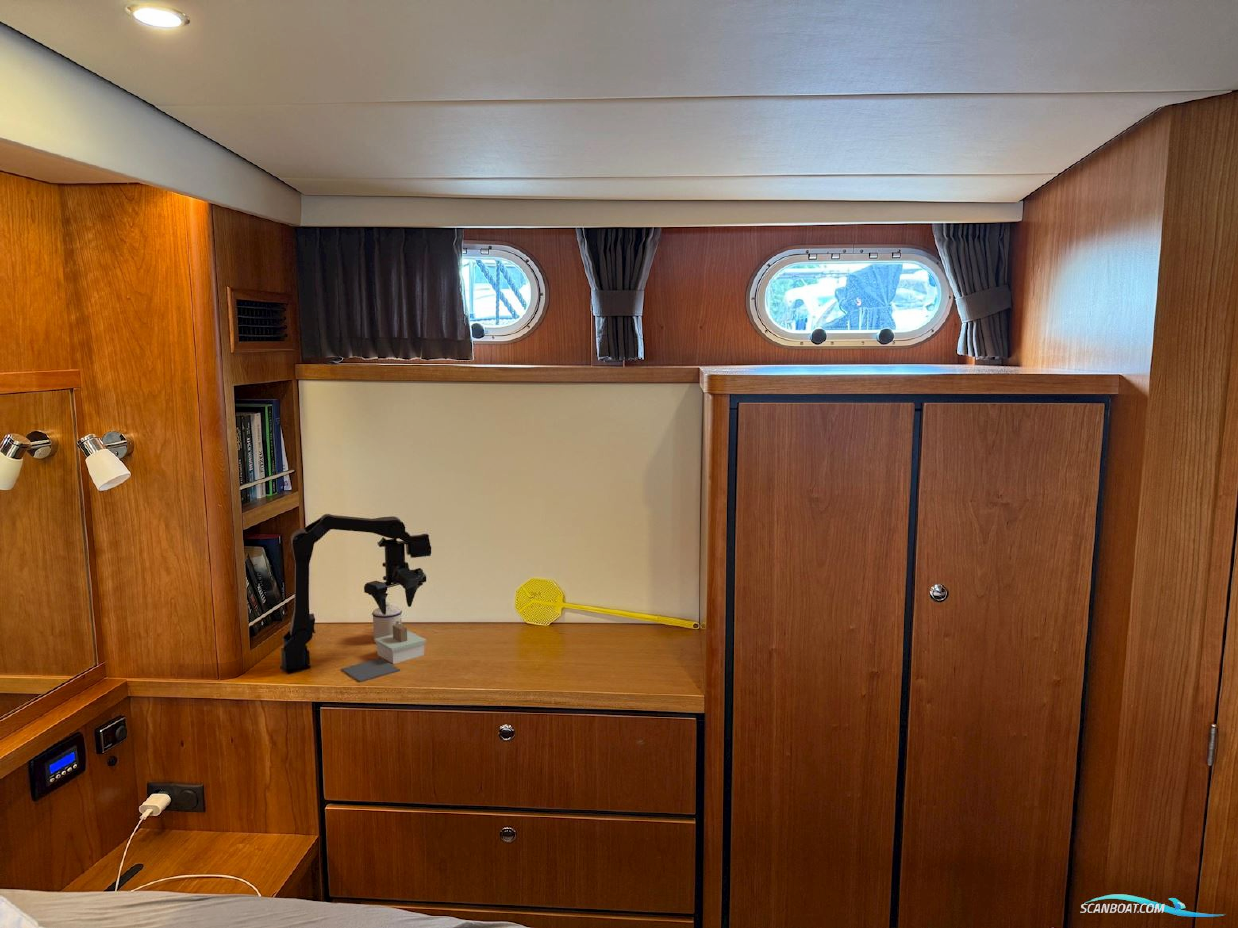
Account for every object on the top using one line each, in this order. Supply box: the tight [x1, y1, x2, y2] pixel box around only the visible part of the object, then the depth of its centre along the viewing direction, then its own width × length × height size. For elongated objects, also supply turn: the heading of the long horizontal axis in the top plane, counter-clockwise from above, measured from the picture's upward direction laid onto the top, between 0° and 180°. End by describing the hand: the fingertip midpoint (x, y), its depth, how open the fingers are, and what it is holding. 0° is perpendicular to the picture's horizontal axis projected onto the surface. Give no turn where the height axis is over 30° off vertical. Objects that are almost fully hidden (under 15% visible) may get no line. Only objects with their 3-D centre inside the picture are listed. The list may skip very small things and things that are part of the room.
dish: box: [376, 643, 425, 665], centre depth 234 cm, size 10×10×4 cm
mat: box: [340, 657, 401, 683], centre depth 222 cm, size 12×12×1 cm
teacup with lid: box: [371, 601, 403, 640], centre depth 249 cm, size 12×9×12 cm
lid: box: [373, 624, 427, 651], centre depth 233 cm, size 11×11×5 cm
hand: (397, 610), depth 234 cm, fingers open, 9 cm apart
